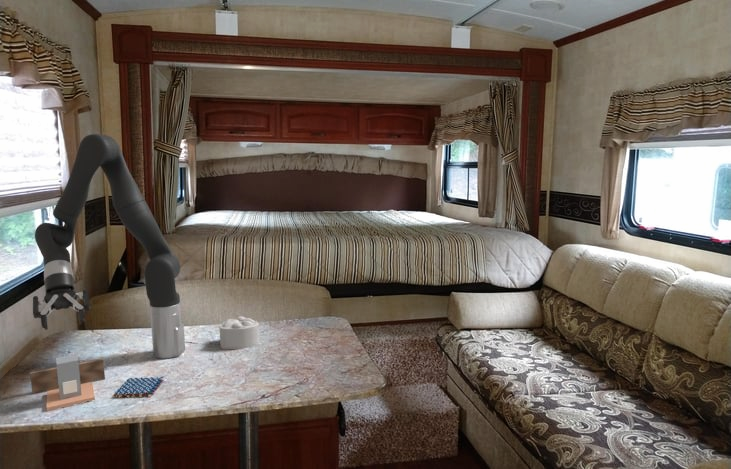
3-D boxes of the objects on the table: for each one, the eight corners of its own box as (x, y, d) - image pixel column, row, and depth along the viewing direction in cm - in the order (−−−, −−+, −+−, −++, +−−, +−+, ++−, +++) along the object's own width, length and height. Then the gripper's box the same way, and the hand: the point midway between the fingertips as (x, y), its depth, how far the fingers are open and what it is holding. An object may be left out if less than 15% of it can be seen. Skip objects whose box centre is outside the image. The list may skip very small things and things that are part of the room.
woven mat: (127, 383, 147) (127, 376, 147) (164, 382, 148) (164, 375, 148) (112, 400, 137) (111, 393, 137) (152, 399, 138) (151, 392, 137)
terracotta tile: (92, 384, 145) (91, 381, 145) (95, 400, 136) (94, 396, 136) (47, 394, 139) (46, 391, 139) (46, 411, 130) (46, 407, 130)
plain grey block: (80, 388, 141) (77, 354, 139) (81, 395, 136) (78, 360, 135) (59, 392, 138) (56, 358, 137) (60, 400, 134) (56, 364, 132)
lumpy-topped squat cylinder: (224, 338, 182) (223, 315, 180) (261, 337, 183) (260, 314, 181) (218, 349, 171) (217, 325, 170) (257, 348, 172) (256, 324, 171)
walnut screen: (104, 377, 150) (103, 358, 149) (105, 379, 149) (103, 359, 148) (32, 392, 141) (30, 372, 140) (32, 394, 140) (30, 373, 139)
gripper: (29, 274, 146) (33, 323, 138) (85, 268, 153) (91, 315, 145) (32, 288, 151) (35, 336, 143) (86, 282, 158) (92, 327, 151)
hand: (63, 325), depth 144 cm, fingers open, 8 cm apart
